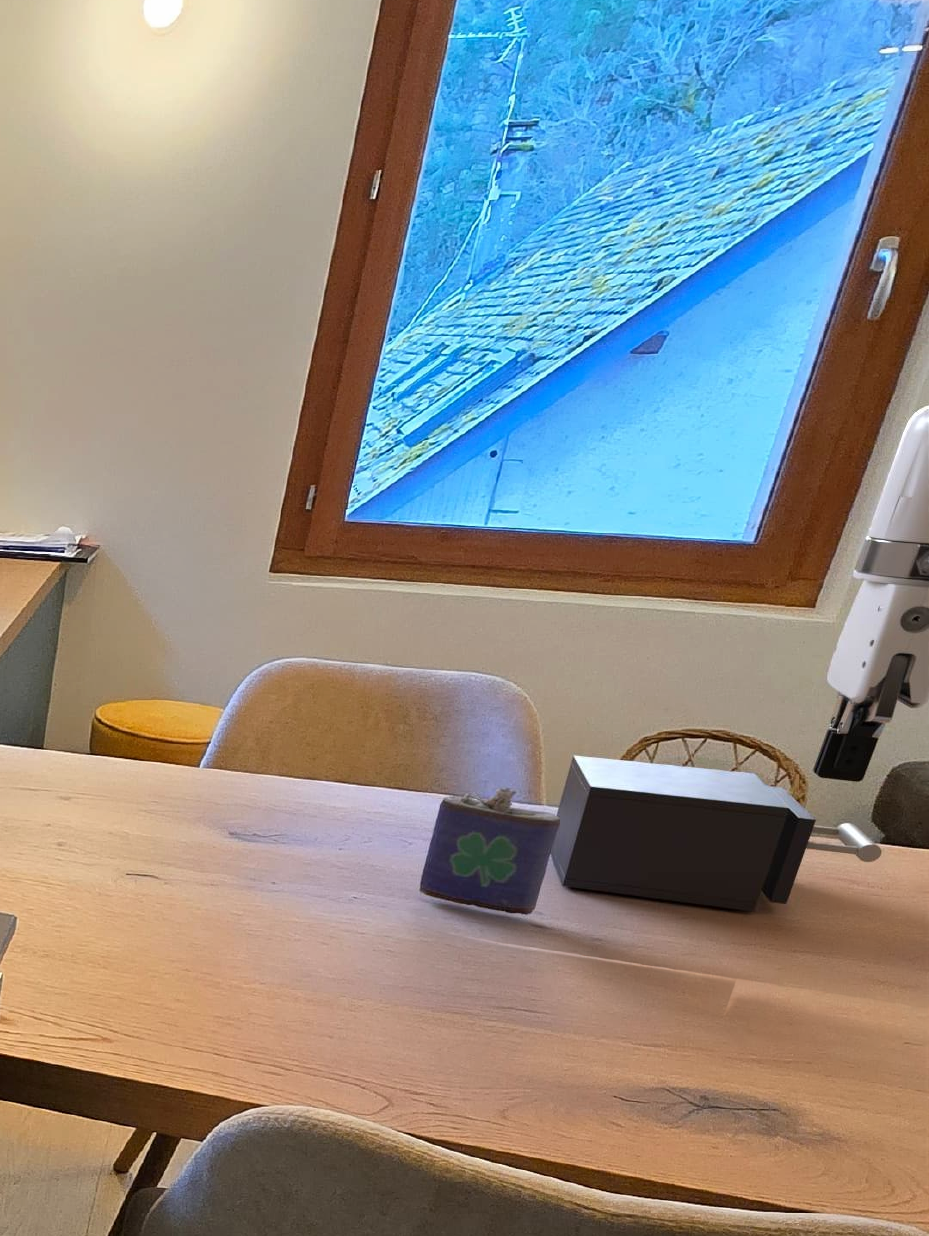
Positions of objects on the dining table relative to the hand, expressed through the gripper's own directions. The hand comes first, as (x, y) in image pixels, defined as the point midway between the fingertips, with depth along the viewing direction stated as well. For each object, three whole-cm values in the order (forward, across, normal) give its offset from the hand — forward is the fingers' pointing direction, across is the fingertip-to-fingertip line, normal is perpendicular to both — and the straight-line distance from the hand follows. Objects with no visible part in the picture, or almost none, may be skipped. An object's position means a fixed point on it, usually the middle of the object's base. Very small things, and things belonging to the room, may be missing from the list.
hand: (836, 777), depth 121 cm
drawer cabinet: (+12, 0, +11) cm, 16 cm away
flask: (+12, -15, +26) cm, 32 cm away
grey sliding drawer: (+11, 0, +6) cm, 12 cm away
